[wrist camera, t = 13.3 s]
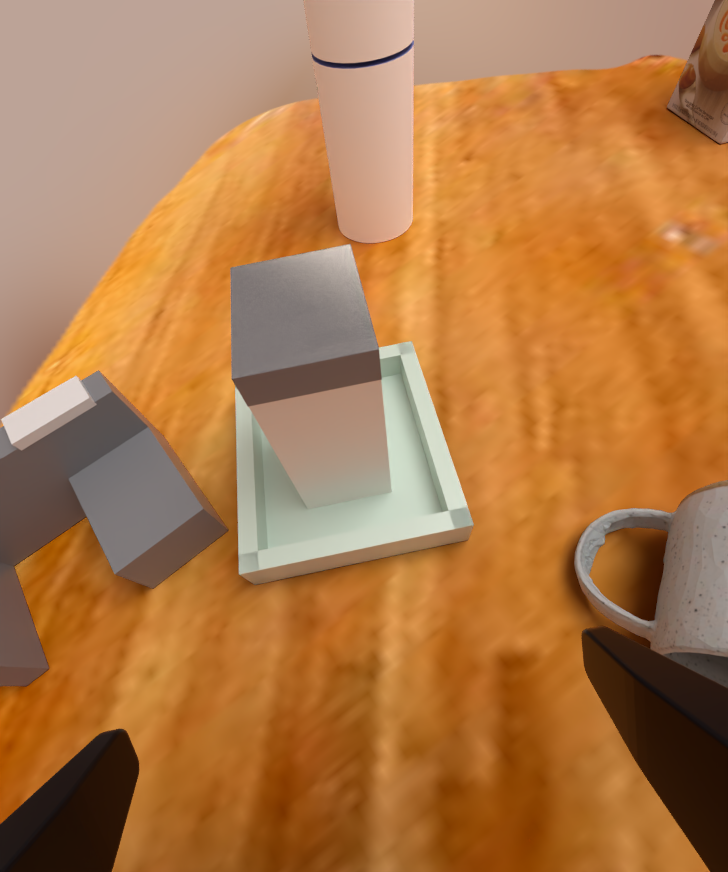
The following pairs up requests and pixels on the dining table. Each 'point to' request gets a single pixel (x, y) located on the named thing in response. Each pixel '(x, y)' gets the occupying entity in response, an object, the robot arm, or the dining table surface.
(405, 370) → the tray
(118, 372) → the dining table surface
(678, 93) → the coffee box
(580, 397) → the dining table surface
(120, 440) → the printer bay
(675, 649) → the ceramic mug
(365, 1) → the cylindrical container
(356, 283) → the block
